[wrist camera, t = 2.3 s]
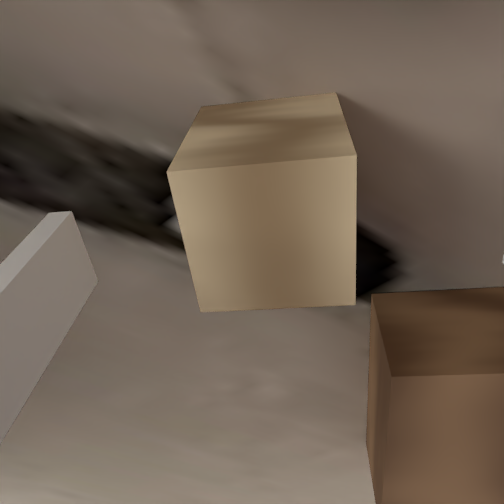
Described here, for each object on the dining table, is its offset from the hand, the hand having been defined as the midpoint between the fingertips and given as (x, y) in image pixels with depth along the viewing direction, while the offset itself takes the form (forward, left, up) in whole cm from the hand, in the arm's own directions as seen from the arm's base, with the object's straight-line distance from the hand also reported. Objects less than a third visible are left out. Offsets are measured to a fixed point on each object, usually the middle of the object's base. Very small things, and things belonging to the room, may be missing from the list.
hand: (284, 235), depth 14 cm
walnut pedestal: (+10, -13, -5) cm, 17 cm away
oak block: (0, 0, -5) cm, 5 cm away
